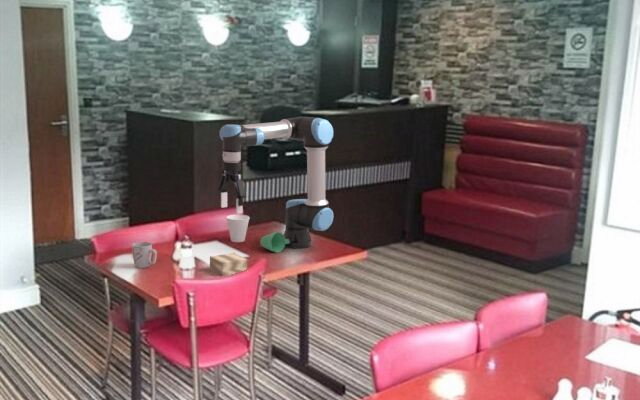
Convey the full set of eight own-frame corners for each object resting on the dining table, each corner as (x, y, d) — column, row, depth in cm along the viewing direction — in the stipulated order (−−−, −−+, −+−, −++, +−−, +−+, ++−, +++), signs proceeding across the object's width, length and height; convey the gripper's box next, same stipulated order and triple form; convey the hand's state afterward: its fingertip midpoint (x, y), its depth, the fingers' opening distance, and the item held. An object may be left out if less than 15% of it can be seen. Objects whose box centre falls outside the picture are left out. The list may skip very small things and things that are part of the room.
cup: (248, 244, 343) (248, 220, 341) (224, 243, 344) (224, 219, 341) (250, 238, 355) (251, 215, 353) (227, 237, 355) (228, 214, 353)
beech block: (234, 265, 307) (234, 252, 306) (247, 272, 298) (247, 259, 297) (209, 269, 300) (209, 256, 299) (222, 276, 291) (222, 263, 290)
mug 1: (161, 265, 303) (161, 243, 301) (151, 270, 295) (150, 248, 293) (139, 262, 306) (139, 240, 304) (128, 267, 298) (128, 245, 296)
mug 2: (256, 252, 332) (271, 253, 326) (256, 232, 332) (271, 232, 326) (277, 250, 343) (292, 250, 337) (277, 230, 343) (292, 231, 337)
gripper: (210, 158, 299) (210, 205, 303) (238, 165, 279) (238, 216, 283) (225, 157, 303) (225, 203, 307) (254, 164, 283) (253, 214, 288)
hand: (231, 210), depth 295 cm, fingers open, 13 cm apart
